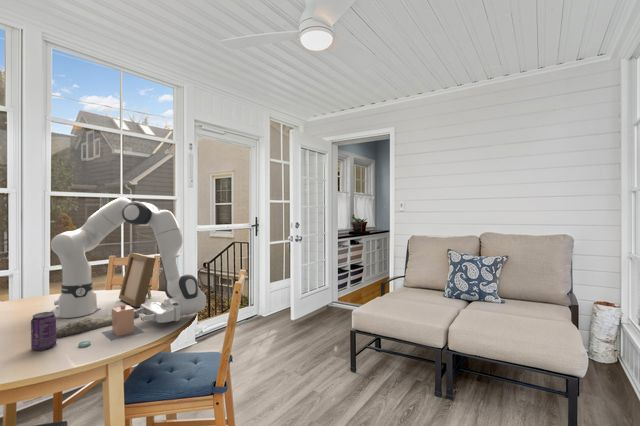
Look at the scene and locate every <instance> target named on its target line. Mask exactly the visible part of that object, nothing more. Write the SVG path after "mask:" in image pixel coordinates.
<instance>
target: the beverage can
mask: <svg viewBox="0 0 640 426" xmlns="http://www.w3.org/2000/svg"><path fill="white" fill-rule="evenodd" d="M54 314H55V313H54V312H53V311H43V312H37V313H35V314H33V315H32V318H31V321H30V348H31V349H32V350H35V351H44V350H43V349H45V350H48V349H50V347H51V348H52V347H54V346H56V345H57V338H56V328H57V318H56V316H55V315H54ZM47 348H48V349H47Z"/></svg>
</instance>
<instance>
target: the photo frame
mask: <svg viewBox="0 0 640 426" xmlns="http://www.w3.org/2000/svg"><path fill="white" fill-rule="evenodd" d="M156 259H157V258H156V257H155V256H154V257H153V256H149V255H145V254H141V253H136V252H130V253H129V257H128V261H127V264H126V268H125V272H124V276H123V280H122V284H121V287H120V291H119V294H118V300H121V301H123V302H125V303H127V304H129V306H131V307H132V306H133V308H140V305H141V304H145V303H146V299H147V297H148V299H149V300H150V299H151V298H152V292H151V287H150V283H151V280H152V275H153V272H154V267H155V265H156Z"/></svg>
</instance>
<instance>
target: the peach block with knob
mask: <svg viewBox="0 0 640 426" xmlns="http://www.w3.org/2000/svg"><path fill="white" fill-rule="evenodd" d="M134 310H135V307H132V305H130V304H129V305H128V304H121V305H120V306H118V307H112V308H111V315H112V325H111V330H112V332H113V333H114V334H115V335H116V336H121V335H125V334H129V333H133V332H134V325H135V318H134Z"/></svg>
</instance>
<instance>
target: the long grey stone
mask: <svg viewBox="0 0 640 426" xmlns="http://www.w3.org/2000/svg"><path fill="white" fill-rule="evenodd" d="M139 317H140V314H138V315H135V316H134V319H136V318H139ZM108 326H112V314H111V315H107V316H102V317H99V318H88V317H87V318H83V319H80V320H77V321H74V322H73V321H72V322H68V323H67V324H65V325H64V324H63V325H60V326H56V339H57V338H58V339H59V338H64V337H68V336H71V335H74V334H75V335H76V334H80V333H83V332H87V331H92V330H97V329H100V328H103V327H108Z"/></svg>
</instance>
